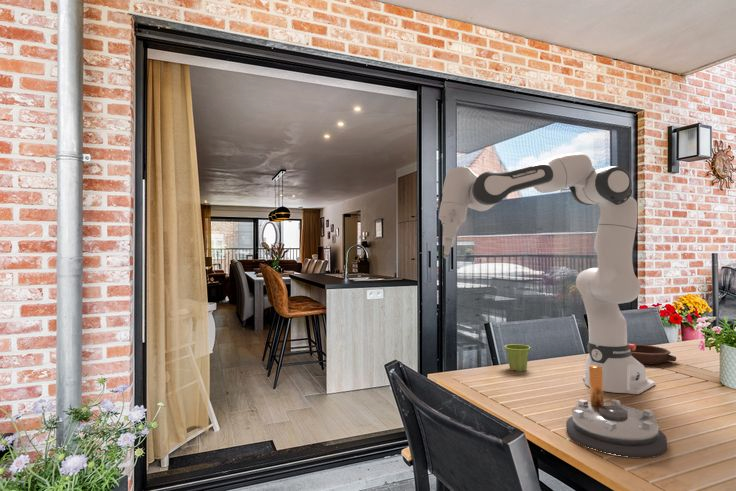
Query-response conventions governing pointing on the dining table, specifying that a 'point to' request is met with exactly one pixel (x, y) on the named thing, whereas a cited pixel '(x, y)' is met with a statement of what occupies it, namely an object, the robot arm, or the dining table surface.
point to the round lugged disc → (613, 417)
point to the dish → (651, 354)
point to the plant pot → (517, 356)
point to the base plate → (618, 449)
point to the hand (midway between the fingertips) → (446, 256)
